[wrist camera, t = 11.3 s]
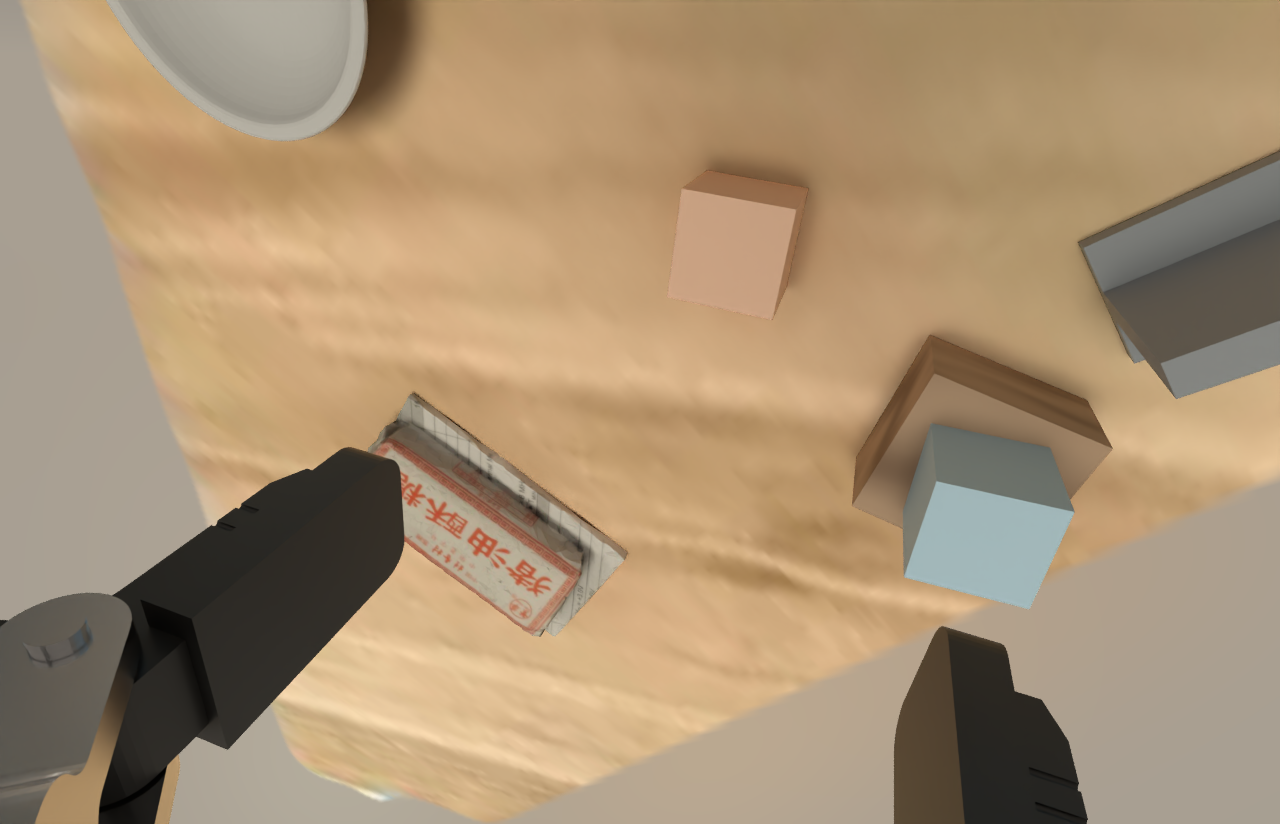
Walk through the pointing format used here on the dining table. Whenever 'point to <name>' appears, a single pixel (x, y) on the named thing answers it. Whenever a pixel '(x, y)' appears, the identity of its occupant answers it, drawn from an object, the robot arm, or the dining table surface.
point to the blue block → (984, 515)
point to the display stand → (1198, 280)
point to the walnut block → (971, 423)
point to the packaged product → (493, 523)
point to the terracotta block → (735, 243)
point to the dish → (256, 58)
